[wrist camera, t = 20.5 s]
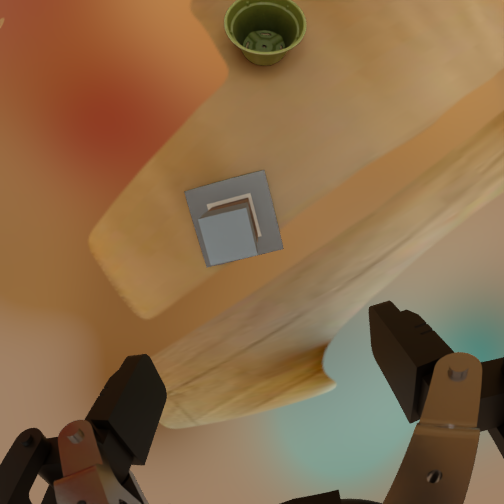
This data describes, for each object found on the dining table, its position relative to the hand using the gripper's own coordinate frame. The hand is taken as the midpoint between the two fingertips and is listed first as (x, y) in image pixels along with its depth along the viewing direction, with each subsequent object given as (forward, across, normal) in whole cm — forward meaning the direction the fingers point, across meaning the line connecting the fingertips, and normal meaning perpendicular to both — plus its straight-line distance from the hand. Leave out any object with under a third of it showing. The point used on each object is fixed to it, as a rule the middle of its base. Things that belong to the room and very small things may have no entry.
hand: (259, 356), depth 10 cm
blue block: (+26, +3, 0) cm, 26 cm away
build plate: (+32, +3, 0) cm, 32 cm away
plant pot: (+32, -7, -23) cm, 40 cm away
